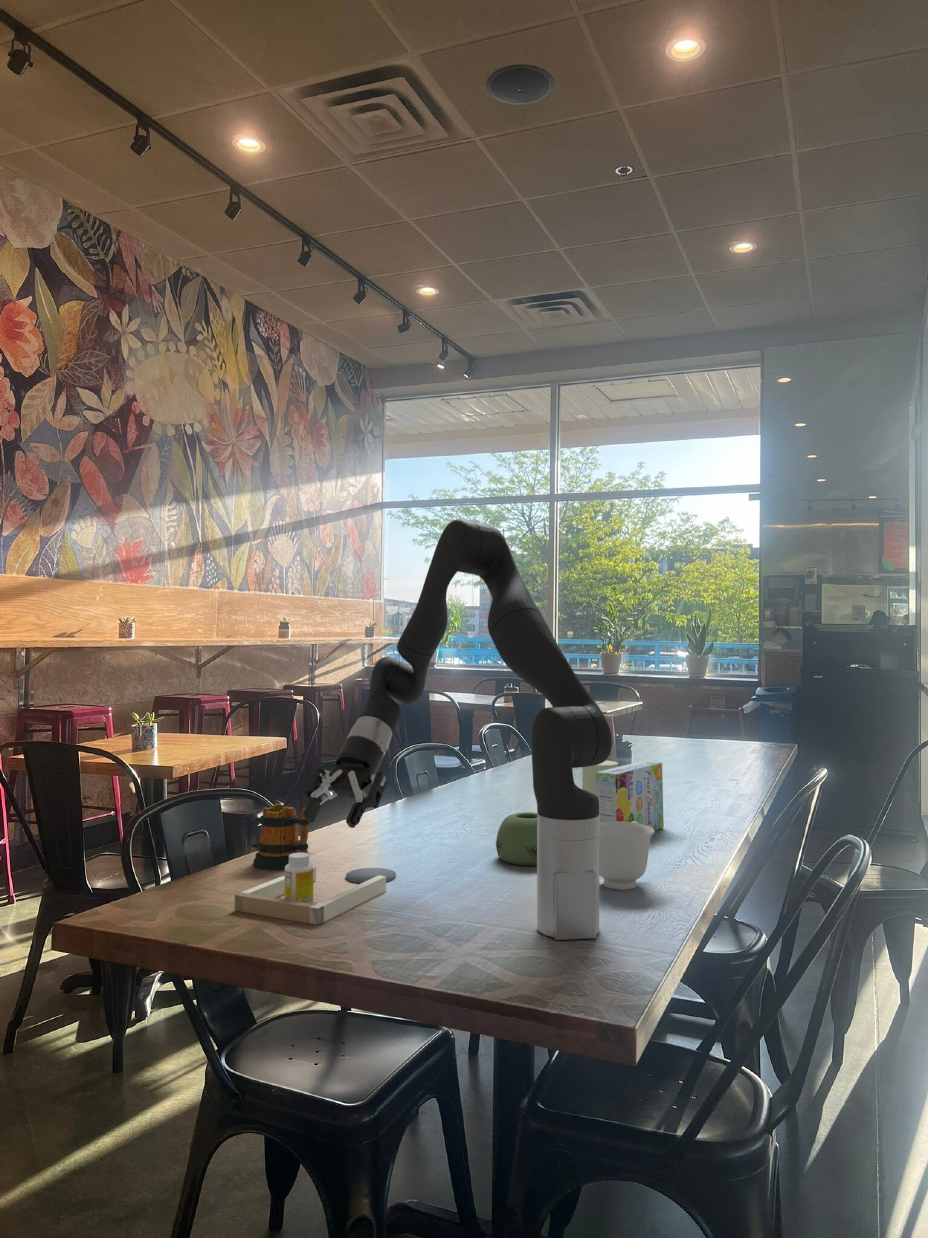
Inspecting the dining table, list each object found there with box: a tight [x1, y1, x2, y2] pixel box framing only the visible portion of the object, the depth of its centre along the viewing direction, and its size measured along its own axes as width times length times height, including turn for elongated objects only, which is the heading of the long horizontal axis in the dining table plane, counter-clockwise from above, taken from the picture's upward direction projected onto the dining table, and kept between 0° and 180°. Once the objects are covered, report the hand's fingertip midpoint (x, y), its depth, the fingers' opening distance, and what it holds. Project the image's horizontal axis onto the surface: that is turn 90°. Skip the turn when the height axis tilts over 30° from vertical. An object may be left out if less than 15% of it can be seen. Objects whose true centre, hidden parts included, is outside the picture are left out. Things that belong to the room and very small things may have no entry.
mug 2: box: [495, 811, 537, 867], centre depth 176 cm, size 16×13×9 cm
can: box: [581, 760, 619, 795], centre depth 227 cm, size 9×9×12 cm
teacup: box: [599, 821, 656, 891], centre depth 158 cm, size 12×15×10 cm
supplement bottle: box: [284, 853, 314, 904], centre depth 144 cm, size 5×5×8 cm
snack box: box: [596, 760, 665, 832], centre depth 197 cm, size 21×6×15 cm, turn 141°
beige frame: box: [234, 865, 387, 926], centre depth 148 cm, size 20×16×2 cm
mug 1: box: [251, 803, 310, 871], centre depth 171 cm, size 13×10×12 cm
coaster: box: [345, 867, 397, 884], centre depth 162 cm, size 9×9×1 cm
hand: (328, 822), depth 152 cm, fingers open, 8 cm apart
